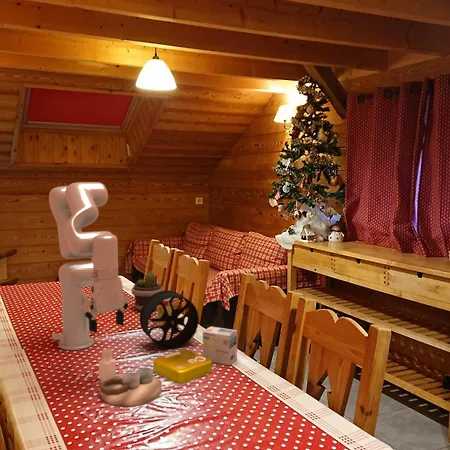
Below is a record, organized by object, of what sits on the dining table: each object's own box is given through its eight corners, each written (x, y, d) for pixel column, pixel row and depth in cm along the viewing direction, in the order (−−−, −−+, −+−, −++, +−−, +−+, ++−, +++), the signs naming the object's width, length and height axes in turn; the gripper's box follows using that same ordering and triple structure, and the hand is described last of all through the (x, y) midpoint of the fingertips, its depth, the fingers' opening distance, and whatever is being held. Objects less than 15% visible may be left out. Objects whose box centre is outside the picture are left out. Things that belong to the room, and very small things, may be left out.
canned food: (174, 328, 208) (174, 300, 207) (155, 328, 208) (155, 300, 207) (176, 322, 216) (176, 295, 215) (158, 322, 216) (158, 295, 215)
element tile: (185, 359, 176) (185, 346, 175) (214, 372, 165) (214, 358, 165) (150, 371, 165) (150, 358, 165) (179, 386, 155) (179, 371, 154)
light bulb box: (237, 359, 176) (237, 329, 175) (229, 366, 170) (230, 335, 169) (210, 354, 180) (210, 325, 179) (201, 360, 174) (202, 330, 173)
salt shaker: (107, 383, 155) (106, 353, 154) (98, 380, 157) (97, 351, 156) (116, 378, 159) (116, 349, 158) (107, 375, 161) (107, 347, 160)
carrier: (94, 406, 140) (94, 389, 140) (107, 379, 158) (107, 364, 158) (158, 406, 141) (158, 389, 140) (164, 379, 159) (164, 364, 158)
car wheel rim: (147, 353, 181) (147, 299, 178) (139, 344, 190) (139, 292, 187) (198, 345, 189) (198, 293, 187) (188, 336, 198) (188, 287, 196)
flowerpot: (127, 307, 239) (127, 266, 237) (158, 303, 245) (158, 264, 243) (135, 315, 226) (135, 272, 224) (167, 311, 232) (167, 269, 230)
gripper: (87, 280, 145) (89, 337, 147) (135, 272, 158) (136, 324, 160) (74, 276, 150) (75, 331, 152) (122, 268, 163) (122, 319, 165)
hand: (106, 328), depth 156 cm, fingers open, 9 cm apart
